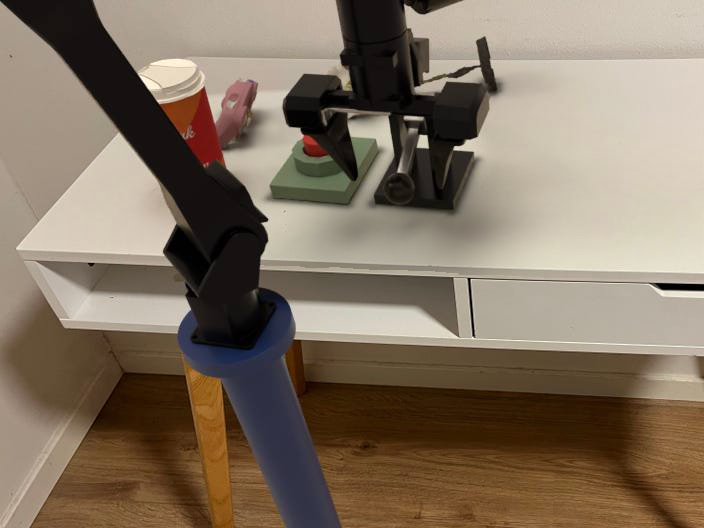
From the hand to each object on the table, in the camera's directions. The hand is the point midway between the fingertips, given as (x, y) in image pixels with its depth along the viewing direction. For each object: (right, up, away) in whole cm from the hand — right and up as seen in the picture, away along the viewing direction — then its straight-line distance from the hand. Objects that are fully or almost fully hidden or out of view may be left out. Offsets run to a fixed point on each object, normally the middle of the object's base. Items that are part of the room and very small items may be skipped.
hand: (397, 182), depth 80 cm
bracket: (+2, +2, +9) cm, 10 cm away
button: (-10, +6, +10) cm, 15 cm away
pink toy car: (-22, +11, +20) cm, 32 cm away
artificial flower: (-1, +16, +23) cm, 28 cm away
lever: (+1, +3, +3) cm, 5 cm away
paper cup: (-23, +2, +11) cm, 26 cm away
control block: (-9, +4, +12) cm, 16 cm away
